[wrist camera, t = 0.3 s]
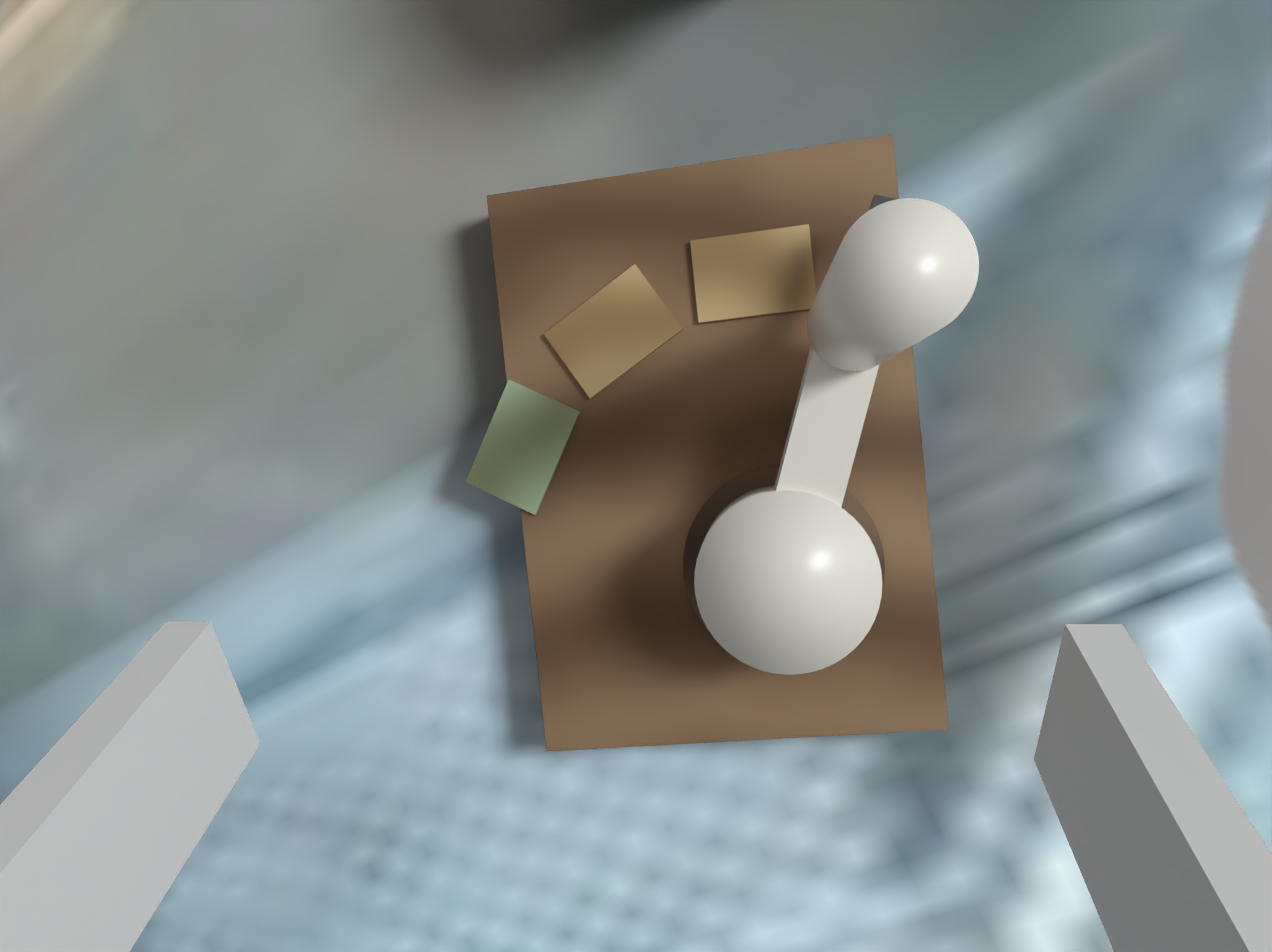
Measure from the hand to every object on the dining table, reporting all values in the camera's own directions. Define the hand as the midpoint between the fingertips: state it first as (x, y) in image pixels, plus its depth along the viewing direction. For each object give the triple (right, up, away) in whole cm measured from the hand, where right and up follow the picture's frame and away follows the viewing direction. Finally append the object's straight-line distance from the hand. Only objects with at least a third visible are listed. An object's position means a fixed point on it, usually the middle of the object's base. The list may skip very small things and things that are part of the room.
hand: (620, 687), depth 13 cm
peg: (+6, +5, +15) cm, 17 cm away
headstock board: (+3, +4, +18) cm, 18 cm away
